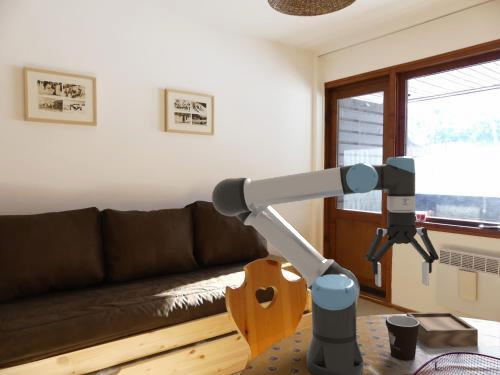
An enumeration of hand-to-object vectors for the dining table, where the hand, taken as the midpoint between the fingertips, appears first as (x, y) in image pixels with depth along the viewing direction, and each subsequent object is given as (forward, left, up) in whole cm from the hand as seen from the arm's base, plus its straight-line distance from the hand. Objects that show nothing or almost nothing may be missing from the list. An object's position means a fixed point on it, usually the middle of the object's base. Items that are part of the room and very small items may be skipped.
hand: (401, 285), depth 110 cm
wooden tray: (+16, +11, -20) cm, 28 cm away
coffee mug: (0, 0, -20) cm, 20 cm away
